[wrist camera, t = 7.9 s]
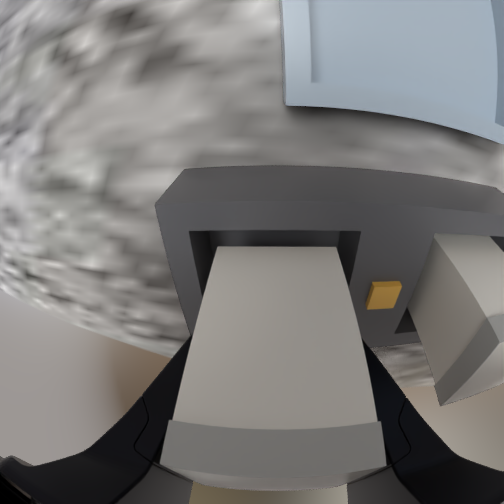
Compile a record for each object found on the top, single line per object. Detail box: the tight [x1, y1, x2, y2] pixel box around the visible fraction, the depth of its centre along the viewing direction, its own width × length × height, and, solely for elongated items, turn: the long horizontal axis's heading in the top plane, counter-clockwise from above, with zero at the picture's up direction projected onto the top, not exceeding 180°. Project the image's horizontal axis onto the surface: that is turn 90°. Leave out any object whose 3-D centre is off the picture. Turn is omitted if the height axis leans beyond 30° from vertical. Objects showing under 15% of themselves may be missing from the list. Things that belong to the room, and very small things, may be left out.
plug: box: [160, 246, 386, 491], centre depth 7 cm, size 4×4×7 cm
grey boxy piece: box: [155, 166, 504, 406], centre depth 9 cm, size 16×8×8 cm, turn 92°
